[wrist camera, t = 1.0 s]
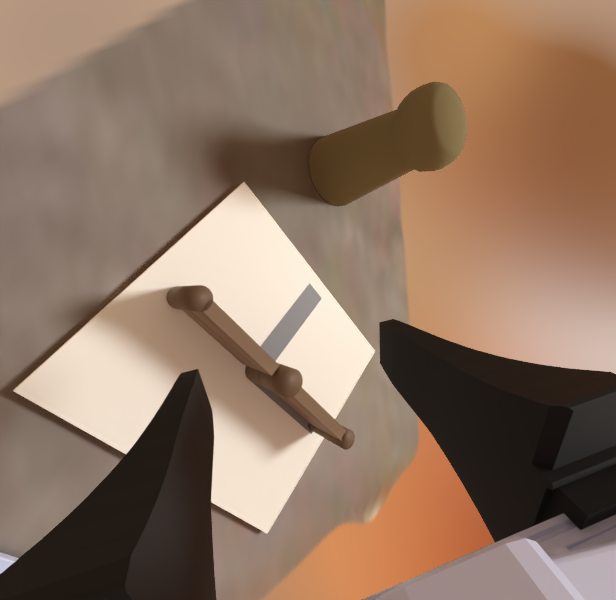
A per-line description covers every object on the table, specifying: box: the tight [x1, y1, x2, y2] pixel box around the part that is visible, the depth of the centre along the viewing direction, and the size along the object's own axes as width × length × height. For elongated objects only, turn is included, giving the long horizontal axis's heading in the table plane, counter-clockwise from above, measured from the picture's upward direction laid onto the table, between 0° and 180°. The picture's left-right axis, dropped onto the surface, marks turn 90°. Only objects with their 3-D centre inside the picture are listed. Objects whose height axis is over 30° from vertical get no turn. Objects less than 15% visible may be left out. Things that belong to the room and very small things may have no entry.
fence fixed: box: [245, 363, 355, 449], centre depth 23 cm, size 2×9×4 cm, turn 46°
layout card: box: [13, 182, 375, 533], centre depth 23 cm, size 18×20×1 cm
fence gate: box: [166, 285, 279, 376], centre depth 19 cm, size 1×7×4 cm, turn 46°
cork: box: [309, 82, 467, 206], centre depth 24 cm, size 6×6×11 cm
